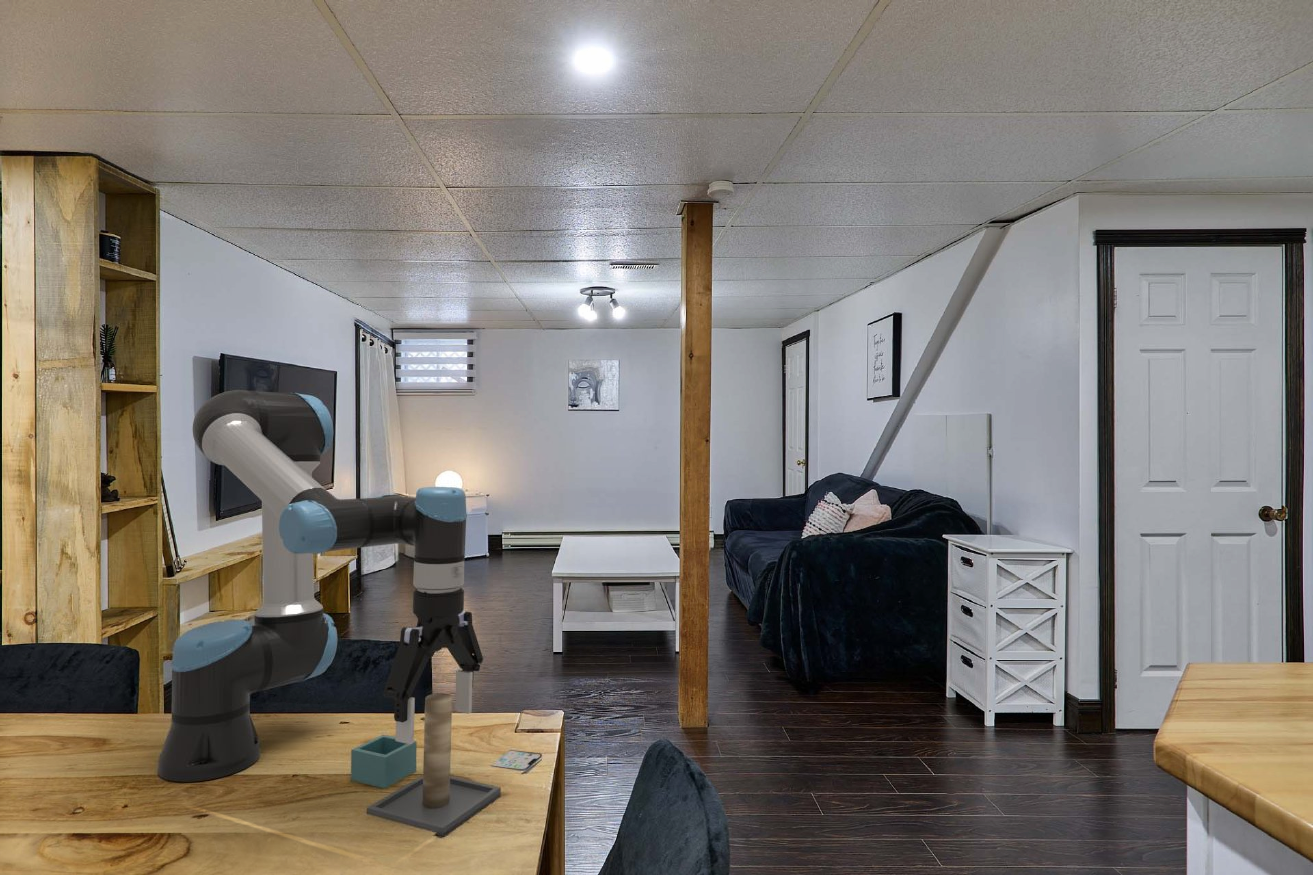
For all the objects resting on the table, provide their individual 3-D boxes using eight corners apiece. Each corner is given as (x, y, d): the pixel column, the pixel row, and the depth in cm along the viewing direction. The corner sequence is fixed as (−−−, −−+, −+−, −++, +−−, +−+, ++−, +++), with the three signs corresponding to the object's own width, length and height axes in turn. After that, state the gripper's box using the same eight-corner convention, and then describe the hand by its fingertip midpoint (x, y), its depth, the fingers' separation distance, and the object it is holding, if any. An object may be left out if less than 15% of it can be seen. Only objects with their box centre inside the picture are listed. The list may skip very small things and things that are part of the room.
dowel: (416, 805, 116) (419, 699, 116) (434, 794, 120) (436, 692, 120) (437, 810, 115) (440, 703, 115) (454, 799, 118) (457, 695, 119)
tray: (366, 817, 114) (366, 807, 114) (429, 779, 126) (429, 771, 126) (442, 838, 108) (442, 828, 108) (500, 796, 121) (500, 787, 121)
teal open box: (350, 783, 125) (351, 749, 125) (382, 766, 131) (383, 734, 131) (384, 792, 122) (385, 757, 122) (416, 774, 128) (416, 741, 128)
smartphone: (469, 745, 140) (544, 753, 136) (469, 751, 140) (544, 759, 136) (447, 761, 133) (524, 770, 129) (447, 767, 133) (525, 777, 129)
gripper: (400, 606, 104) (397, 761, 105) (506, 577, 127) (503, 704, 127) (359, 600, 107) (355, 751, 108) (469, 573, 130) (466, 697, 130)
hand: (435, 726), depth 117 cm, fingers open, 13 cm apart
